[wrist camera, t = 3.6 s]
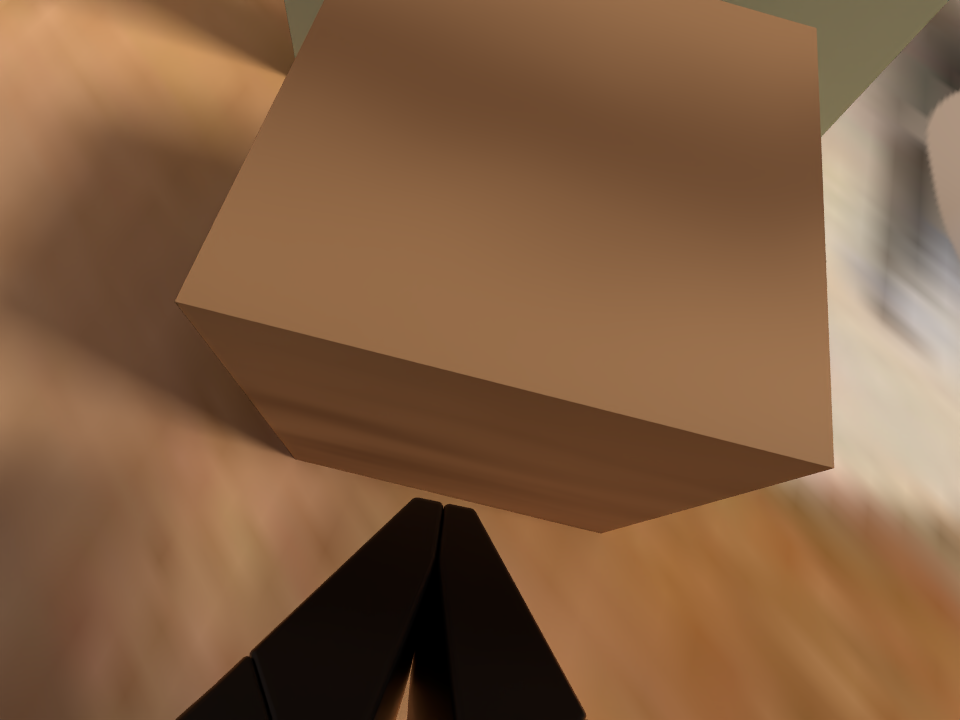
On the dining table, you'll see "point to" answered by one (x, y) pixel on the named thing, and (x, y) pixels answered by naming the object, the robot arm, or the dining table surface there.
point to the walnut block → (535, 254)
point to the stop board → (817, 3)
